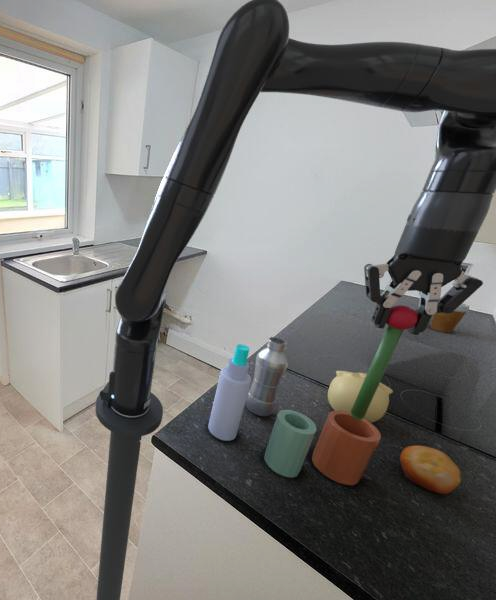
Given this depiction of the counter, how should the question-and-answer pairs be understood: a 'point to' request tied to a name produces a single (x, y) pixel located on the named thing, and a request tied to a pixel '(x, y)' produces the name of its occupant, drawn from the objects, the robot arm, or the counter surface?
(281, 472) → the celadon vase
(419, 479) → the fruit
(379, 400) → the sculpture
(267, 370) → the silver metal bottle
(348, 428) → the terracotta vase
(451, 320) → the disposable coffee cup
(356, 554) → the counter surface
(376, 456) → the counter surface
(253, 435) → the counter surface
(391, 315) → the rose
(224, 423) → the spray bottle
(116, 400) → the robot arm
